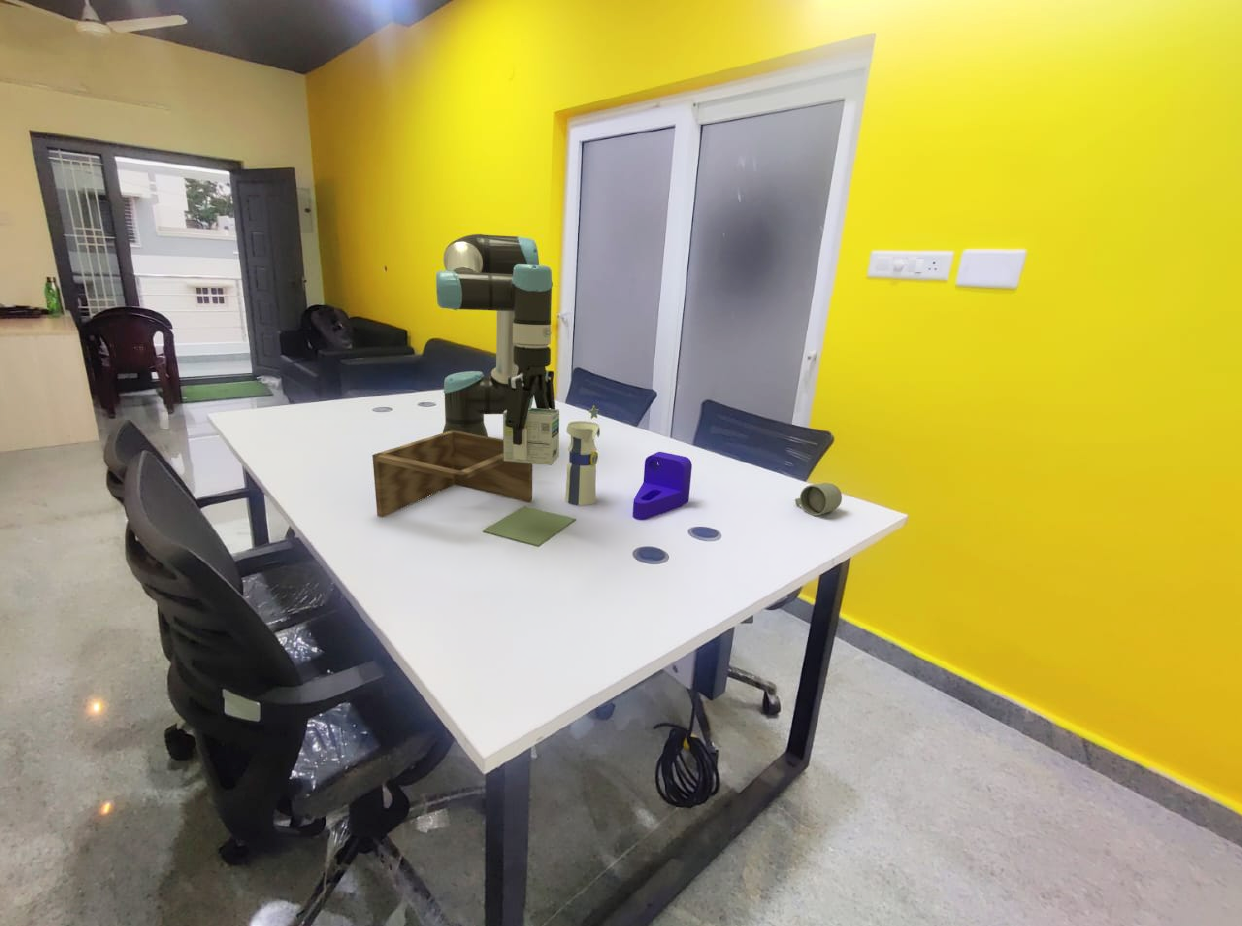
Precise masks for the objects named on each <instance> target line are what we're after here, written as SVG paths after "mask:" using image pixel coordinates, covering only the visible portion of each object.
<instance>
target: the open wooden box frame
mask: <svg viewBox="0 0 1242 926" xmlns="http://www.w3.org/2000/svg"><path fill="white" fill-rule="evenodd" d="M372 468H373V478H374V493H375V506H376V513H377V514H376V516H378V517H381V518H383V517H385V516H388V515H391V514H392V513H394V512H397V511H399V510H401V508H402V509H403V507H404V508H406V507H408V506H410V505H409V504H411V503H413V502H415V503H417V502H419V501H418V500H420V499H422V498H424V499H426V498H425V497H427V496H429V495H431V494H433V495H435V494H434V493H436V492H438V491H440V492H443V491H446V490H447V489H449V488H452V487H453V486H459V487H463V488H467V489H470V490H471V489H472V490H476V491H478V492H483V491H484V492H485V493H488V494H492V495H497V496H501V497H505V498H509V499H513V500H517V501H523V502H527V503H529V502H531V501H533V464H532V463H520V462H509V461H503V438H497V437H492V436H488V437H487V436H482V435H477V434H472V433H466V432H461V431H456V430H451V431H447V432H444V433H443V432H442V433H438V434H435V435H432V436H429V437H426V438H423V439H419V440H416V441H413V442H412V441H411V442H410V443H407V444H406V443H405V444H403V445H399V446H398V447H397V446H396V447H394V448H390V449H388V450H384V451H381V452H378V453H374V454H372ZM438 493H439V492H438ZM436 494H437V493H436ZM431 496H432V495H431ZM429 497H430V496H429ZM427 498H428V497H427ZM422 500H423V499H422ZM416 501H417V502H416ZM420 501H421V500H420ZM413 504H414V503H413ZM407 505H408V506H407ZM411 505H412V504H411ZM405 506H406V507H405Z"/></svg>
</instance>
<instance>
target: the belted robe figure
mask: <svg viewBox="0 0 1242 926" xmlns="http://www.w3.org/2000/svg"><path fill="white" fill-rule="evenodd" d="M599 410H600V409H599V408H596V407H595V405H592V408H591V409H590V410H588V413H589V414H590V420H592V419H593V418H596V419H598V415H597V413H598V412H600V411H599ZM565 431H566V433H567V434H568V435H570V443H569V446H568V447H567V450H568V451H569V453H568V454H569V457H568V458H569V459H568V462H567V466H566V483H565V493H564V494H565V495H564V500H565V502H566V503H568V504H569V505H572V506H573V505H574V506H583V507H584V506H590V505H593V504H595V503H596V501H597V499H596V481H597V480H596V479H597V478H596V475H597V470H596V469H597V468H596V465H597V463H598V461H599V454H598V452H597V450H598V449H597V448H596V447H597V446H596V445H595V438H596V436H597V438H599V437H600V434H601V432H600V431H601V430H600V425H599V424H598V423H596V422H591V421H586V420H585V421H583V420H581V421H580V420H578V421H572V422H569V423H568V424H567V426H566V430H565Z"/></svg>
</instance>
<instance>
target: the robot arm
mask: <svg viewBox="0 0 1242 926" xmlns="http://www.w3.org/2000/svg"><path fill="white" fill-rule="evenodd" d="M442 261H443V266H444V269H445V270H438V271H437V272H436V273H435V274H436V275H435V281H436V282H435V284H436V285H435V289H436V290H435V291H436V301H437V306H439V307H440V308H441V309H448V310H449V309H450V310H454V311H457V310H466V311H467V310H471V311H473V310H474V311H493V312H494V311H496V335H495V336H496V340H495V341H496V345H495V347H496V349H495V350H496V351H495V355H496V356H495V362H496V363H495V367H494V368H492V369H491V371H490V376H485V375H484V372H482V371H480V370H477V371H476V370H470V371H460V372H456V373H452V374H449V375H447V376H446V377H445V378H444V381H443V382H444V383H443V384H444V385H443V386H444V387H443V394H444V419H445V423H444V428H443V430H442V433H444V432H447V431H451V430H456V431H461V432H466V433H472V434H477V435H482V436H487V437H489V433H488V430H487V428H486V424H485V415H503V412H504V411H505V410H507V414H506V426H507V427H510V428H512V429H513V457H514V458H516V459H521V460H526V459H527V429H525V428H524V425H525V421H526V417H527V413H528V408H532V405H533V402H534V403H535V408H542V409H556V402H555V401H556V400H555V387H554V379H555V372H554V371H553V370H547V367H549V366H550V365H551V364H552V363H551V362H552V360H551V359H552V348H551V347H550V345H551V344H552V333H553V331H552V302H553V299H552V297H553V296H552V295H553V286H554V282H553V271H552V268H551V267H550V266H548V265H543V264H540V258H539V250H538V246H537V243H536V241H535V240H534V239H532V238H529V237H524V236H519V235H515V236H514V235H502V234H501V235H497V234H482V233H473V234H468V235H467V234H466V235H464V236H461V237H459V238H457V239H455V240H453V241H452V242H450V244H448V246H447V247H446V248H445V251H444V253H443V260H442ZM519 422H520V423H519Z"/></svg>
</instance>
